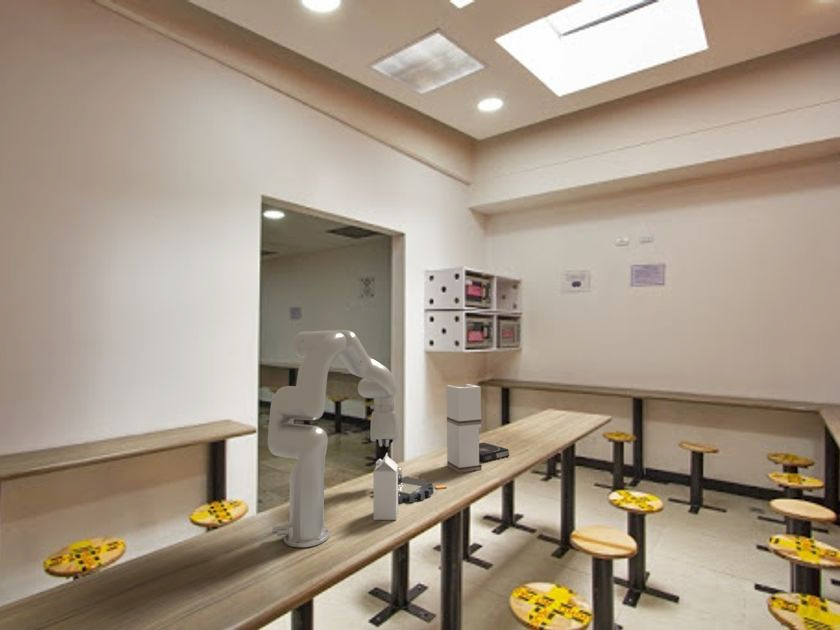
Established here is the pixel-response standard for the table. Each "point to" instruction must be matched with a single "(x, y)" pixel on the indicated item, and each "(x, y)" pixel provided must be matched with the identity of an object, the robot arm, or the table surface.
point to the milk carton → (385, 489)
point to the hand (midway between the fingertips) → (384, 456)
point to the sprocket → (412, 488)
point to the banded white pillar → (463, 427)
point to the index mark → (440, 487)
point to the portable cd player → (491, 452)
